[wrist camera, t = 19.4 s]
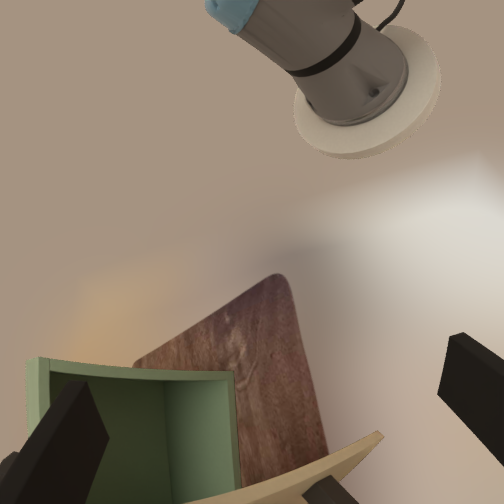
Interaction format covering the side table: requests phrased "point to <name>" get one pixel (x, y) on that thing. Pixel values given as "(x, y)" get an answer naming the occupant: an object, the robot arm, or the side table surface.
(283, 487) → the cupboard door
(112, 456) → the cupboard
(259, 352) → the side table surface
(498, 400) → the robot arm
